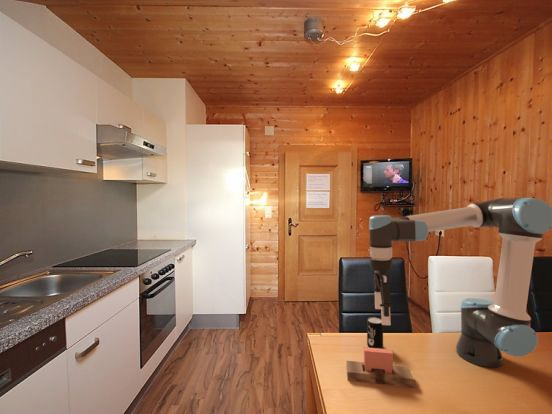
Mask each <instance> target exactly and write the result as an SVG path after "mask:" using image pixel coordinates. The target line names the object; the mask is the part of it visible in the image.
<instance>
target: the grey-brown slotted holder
mask: <svg viewBox="0 0 552 414" xmlns="http://www.w3.org/2000/svg"><path fill="white" fill-rule="evenodd" d="M346 377H347V381H350V382H360V383H368V384H369V383H370V384H375V385H377V384H379V385H387V386H396V387H404V388H415V379H414V376H413V374H412V372H411V370H410V368H409V366H404V365H394V364H393V370H392V374H386V373H385V369H376V368H371V372H367V371H365V366H364V361H355V360H354V361H353V360H346Z"/></svg>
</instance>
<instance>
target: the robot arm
mask: <svg viewBox="0 0 552 414" xmlns="http://www.w3.org/2000/svg"><path fill="white" fill-rule="evenodd" d="M368 224H369V225H368V234H369V248H368V249H367V251H368V253H369V257H370V259H369V266H370V269H371V270H373V271H374V276H373V277H374V278H373V288H374V290H373V291H374V309H375V310H381V312H380V313H381V320H382V325H383V326H391V324H392V323H391V308H392V307H393V304H392V297H391V288H390V277H389V275H388V274H387V272H388V271H389V272H391V270H393V260H392V259H393V244H392V243H393V242H422V241H425V240H427V238H428V235H429V233H430V232H436V231H445V230H450V229H451V230H452V229H457V228H458V229H459V228H465V227H473V228H483V227H485V228H496V229H498V230H497V231H498V232H497V234H498V235H499V237H500V238H502V242H501V250H500V251H501V252H500V258H499V265H498V271H497V278H496V279H497V280H496V285H495V287H496V288H495V292H494V293H495V294H494V300H493V301H492V300H489V299H488V300H487V299H483V298H471V297H470V298H464V299H462V301H461V303H460V304H461V305H460V319H461V321H460V322H461V325H460V328H461V329H460V332H461V333H460V336H459V338H458V340H457V342H456V345H455V347H456V349H455V350H456V351H455V352H456V353H457V355H458V356H459V357H460V358H462V359H463V360H465V361H466V362H469V363H471V364H473V365H478V366H480V367H485V368H499V367H501V366H503V363H504V360H503V354H502V352H503V353H505V354H506V355H509V356H513V357H524V356H527V355H529V354H531V353H533V352H534V351H535V349H536V348H537V346H538V343H539V336H538V334H537V332H536V331H535V330H534V329H533V328H532V327H531V320H532V318H531V316H530V315H529V314H528V312H527V304H528V299H529V298H528V297H529V290H530V283H531V277H532V270H533V269H532V268H533V263H534V255H535V247H536V243H538V242H540V241H542V239H543V236H544V233H547V232H549V231H550V229H552V206H550V205H549V203H548V202H546V201H545V200H544V199H539V198H535V197H534V198H533V197H502V198H501V197H500V198H499V197H498V198H494V199H490V200H484V201H481V202H475V203H469V204H468V205H467V206H466V207H459V208H454V209H453V208H452V209H446V210H440V211H433V212H426V213H419V214H413V215H412V214H411V215H406V216H399V217H394V216H393V217H392V216H391V215H386V214H385V215H381V214H379V215H372V216H370V217H369V223H368Z"/></svg>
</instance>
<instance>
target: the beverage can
mask: <svg viewBox="0 0 552 414" xmlns="http://www.w3.org/2000/svg"><path fill="white" fill-rule="evenodd" d="M366 345H367V347H368V348H379V349H384V325H382V318H378V317H375V316H373V317H368V318H367V322H366Z"/></svg>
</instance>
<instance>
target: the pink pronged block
mask: <svg viewBox="0 0 552 414" xmlns="http://www.w3.org/2000/svg"><path fill="white" fill-rule="evenodd" d="M363 362H364V366H365V371H367V372H371V368H376V369H385V373H386V374H392V370H393V365H394V353H393V351H392V349H387V348H382V349H379V348H369V347H368V346H367V347H363Z"/></svg>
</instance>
